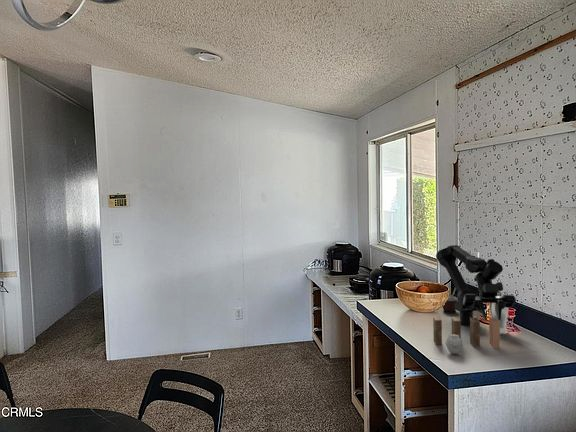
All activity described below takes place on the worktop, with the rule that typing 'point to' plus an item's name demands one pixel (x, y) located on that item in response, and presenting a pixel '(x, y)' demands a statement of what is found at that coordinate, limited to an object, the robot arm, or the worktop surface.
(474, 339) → the domino
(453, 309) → the mate gourd
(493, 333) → the loose domino
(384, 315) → the worktop surface
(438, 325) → the domino
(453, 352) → the grey faceted rock
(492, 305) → the beer glass
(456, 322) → the domino
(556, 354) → the worktop surface
